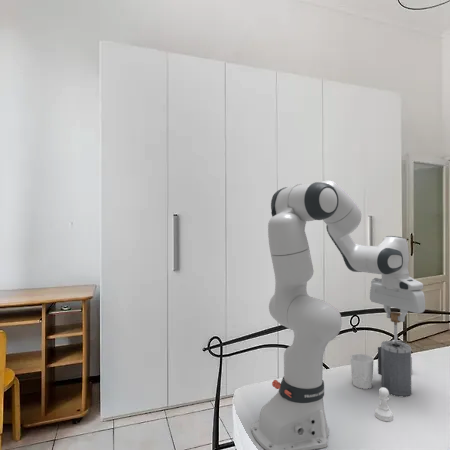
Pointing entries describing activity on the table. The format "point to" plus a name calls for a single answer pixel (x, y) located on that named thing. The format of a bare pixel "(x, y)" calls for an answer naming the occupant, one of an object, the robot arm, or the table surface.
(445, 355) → the table surface
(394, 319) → the plunger
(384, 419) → the chess pawn
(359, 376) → the white cup
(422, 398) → the table surface
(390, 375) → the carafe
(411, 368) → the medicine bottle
